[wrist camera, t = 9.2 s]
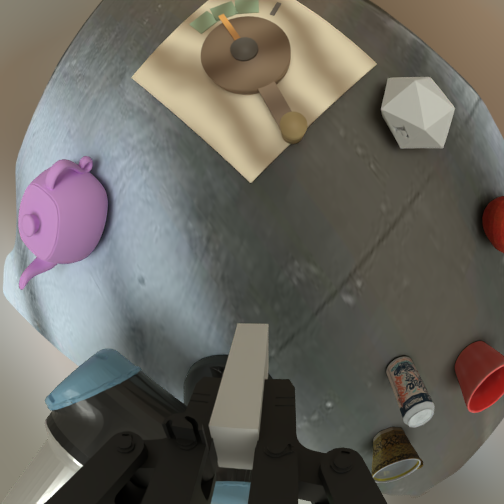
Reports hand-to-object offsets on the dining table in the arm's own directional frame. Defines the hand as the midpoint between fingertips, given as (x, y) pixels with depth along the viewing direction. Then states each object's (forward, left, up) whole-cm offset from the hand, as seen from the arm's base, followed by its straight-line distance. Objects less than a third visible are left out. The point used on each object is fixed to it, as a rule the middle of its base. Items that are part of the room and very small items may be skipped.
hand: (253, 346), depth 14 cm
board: (+14, +18, -22) cm, 32 cm away
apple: (+26, -20, -22) cm, 40 cm away
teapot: (-18, +24, -22) cm, 37 cm away
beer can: (0, -29, -22) cm, 37 cm away
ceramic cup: (-11, -48, -22) cm, 54 cm away
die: (+23, 0, -22) cm, 32 cm away
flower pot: (+11, -41, -22) cm, 48 cm away
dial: (+13, +15, -21) cm, 28 cm away
